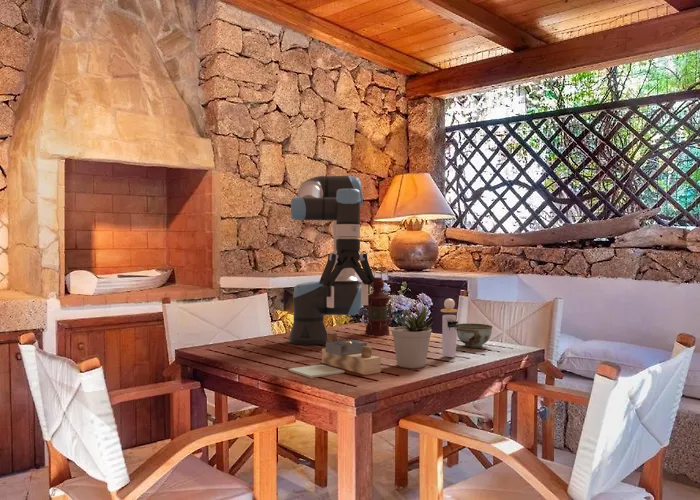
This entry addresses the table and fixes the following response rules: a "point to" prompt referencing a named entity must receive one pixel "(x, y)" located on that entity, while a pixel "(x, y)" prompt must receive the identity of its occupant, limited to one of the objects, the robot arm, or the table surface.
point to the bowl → (474, 334)
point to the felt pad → (316, 370)
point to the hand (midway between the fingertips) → (347, 306)
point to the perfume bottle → (449, 329)
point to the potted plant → (412, 340)
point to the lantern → (377, 309)
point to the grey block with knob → (345, 347)
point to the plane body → (353, 359)
